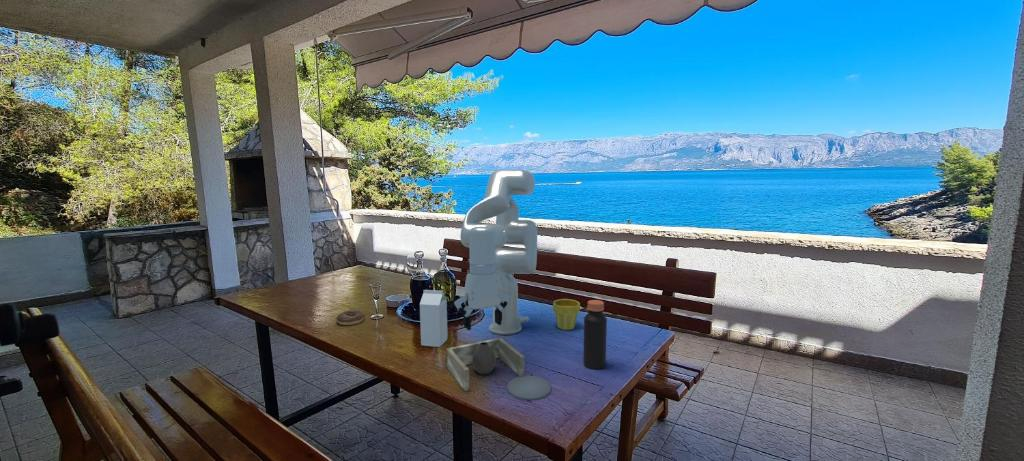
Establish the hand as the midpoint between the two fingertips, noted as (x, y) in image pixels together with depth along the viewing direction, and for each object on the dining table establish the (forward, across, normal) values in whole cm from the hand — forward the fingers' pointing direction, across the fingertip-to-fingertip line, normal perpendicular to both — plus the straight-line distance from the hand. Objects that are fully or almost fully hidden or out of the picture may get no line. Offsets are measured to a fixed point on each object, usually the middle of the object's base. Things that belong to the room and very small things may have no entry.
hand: (483, 326), depth 120 cm
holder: (+14, 0, -1) cm, 14 cm away
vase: (+14, 0, -1) cm, 15 cm away
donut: (+14, +30, -66) cm, 74 cm away
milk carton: (+14, +6, -29) cm, 33 cm away
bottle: (+14, -32, +11) cm, 37 cm away
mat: (+14, -8, +14) cm, 22 cm away
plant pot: (+14, -44, -20) cm, 50 cm away
